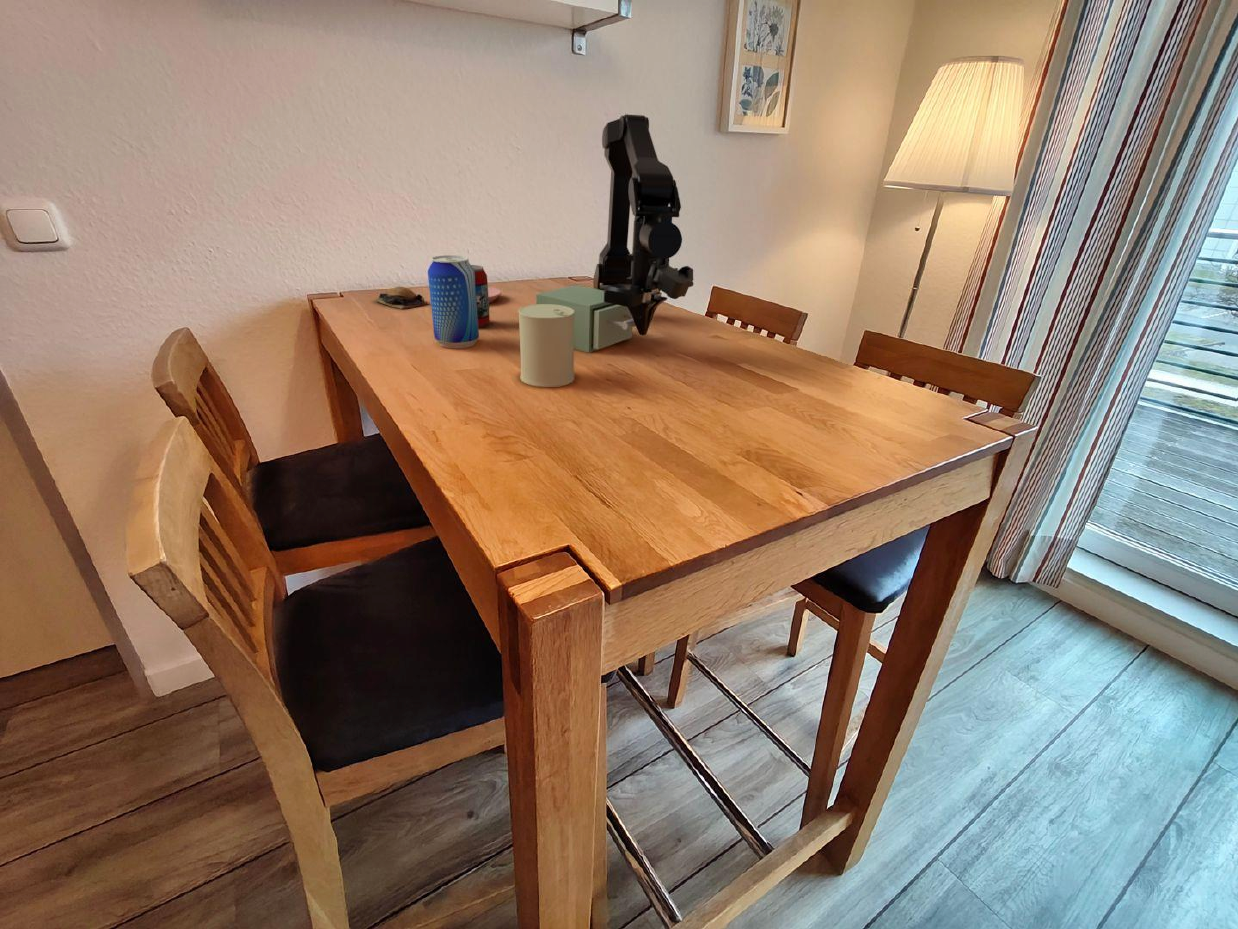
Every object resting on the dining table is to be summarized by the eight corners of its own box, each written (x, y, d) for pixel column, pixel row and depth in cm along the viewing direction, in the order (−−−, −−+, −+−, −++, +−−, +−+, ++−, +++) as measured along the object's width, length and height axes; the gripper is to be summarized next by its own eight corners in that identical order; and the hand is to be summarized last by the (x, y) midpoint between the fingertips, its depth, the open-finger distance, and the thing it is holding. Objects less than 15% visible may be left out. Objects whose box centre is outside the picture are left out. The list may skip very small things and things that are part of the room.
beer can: (487, 340, 117) (482, 257, 110) (464, 352, 110) (457, 264, 103) (451, 335, 120) (443, 252, 112) (426, 345, 113) (416, 259, 105)
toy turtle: (372, 302, 140) (370, 286, 139) (402, 296, 147) (400, 281, 145) (400, 310, 135) (398, 293, 133) (430, 304, 141) (428, 288, 140)
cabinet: (626, 339, 123) (628, 295, 118) (588, 352, 113) (589, 305, 109) (576, 326, 129) (576, 284, 125) (537, 338, 120) (536, 293, 116)
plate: (513, 299, 149) (512, 291, 148) (472, 309, 139) (472, 300, 138) (472, 290, 156) (471, 283, 155) (430, 299, 145) (429, 291, 144)
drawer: (651, 342, 118) (654, 306, 115) (618, 355, 110) (620, 316, 107) (584, 325, 127) (585, 291, 124) (549, 336, 119) (548, 300, 115)
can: (552, 391, 95) (551, 317, 89) (509, 379, 99) (505, 307, 93) (585, 376, 102) (586, 307, 96) (543, 365, 106) (542, 298, 100)
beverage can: (482, 329, 124) (478, 271, 118) (452, 326, 125) (447, 268, 119) (494, 322, 130) (491, 265, 124) (466, 319, 131) (461, 263, 125)
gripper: (658, 261, 94) (651, 355, 102) (712, 249, 108) (702, 333, 115) (603, 252, 100) (600, 341, 107) (661, 242, 113) (655, 322, 121)
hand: (642, 334), depth 112 cm, fingers closed, pressing on drawer
